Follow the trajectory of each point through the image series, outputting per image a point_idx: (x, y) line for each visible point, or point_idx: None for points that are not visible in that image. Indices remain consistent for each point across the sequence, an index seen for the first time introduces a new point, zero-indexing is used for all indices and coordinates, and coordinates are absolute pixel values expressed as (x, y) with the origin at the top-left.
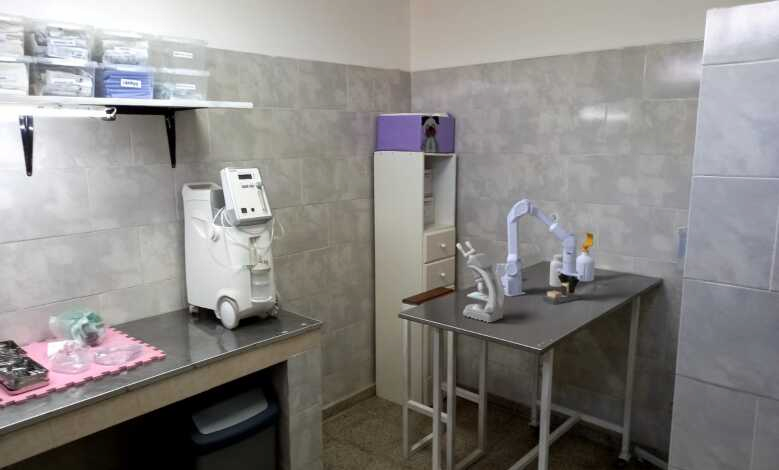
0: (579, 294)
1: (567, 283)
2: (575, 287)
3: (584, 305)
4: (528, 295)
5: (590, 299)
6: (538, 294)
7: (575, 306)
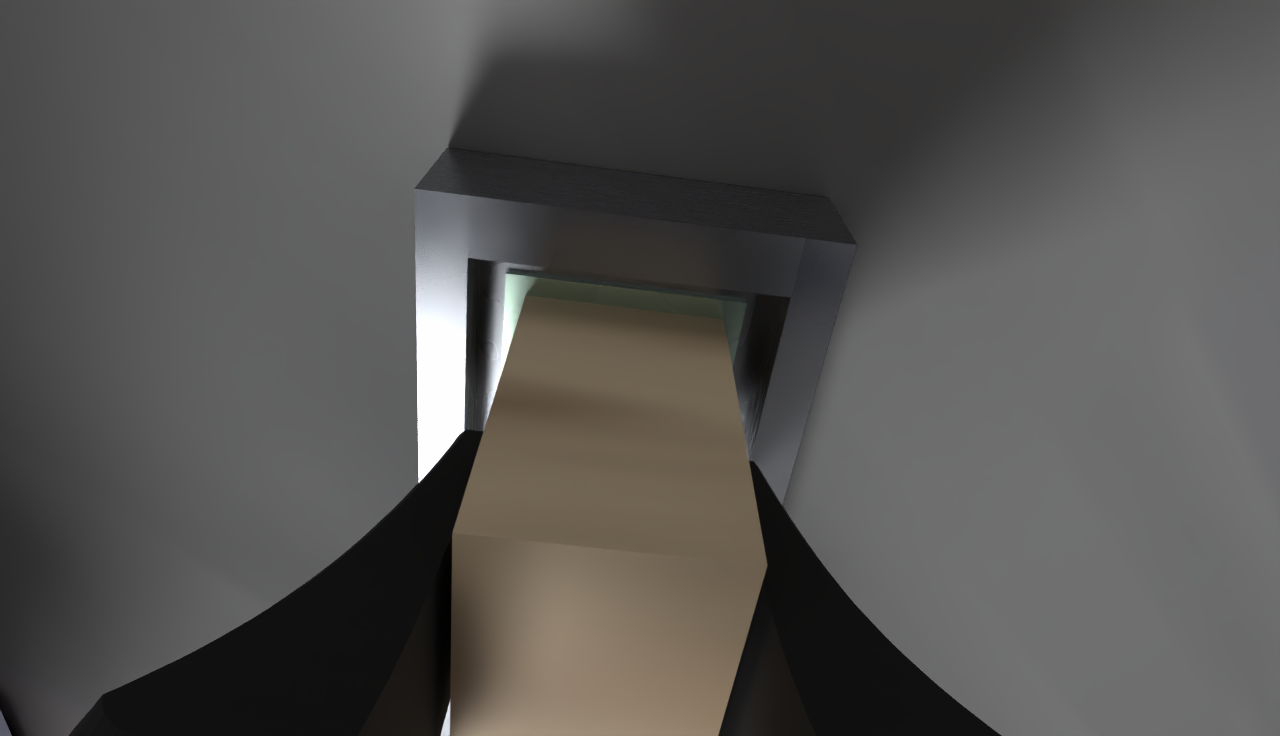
0: (825, 300)
1: (582, 728)
2: (812, 557)
3: (1101, 490)
4: (89, 702)
5: (1020, 28)
6: (86, 572)
7: (995, 622)
